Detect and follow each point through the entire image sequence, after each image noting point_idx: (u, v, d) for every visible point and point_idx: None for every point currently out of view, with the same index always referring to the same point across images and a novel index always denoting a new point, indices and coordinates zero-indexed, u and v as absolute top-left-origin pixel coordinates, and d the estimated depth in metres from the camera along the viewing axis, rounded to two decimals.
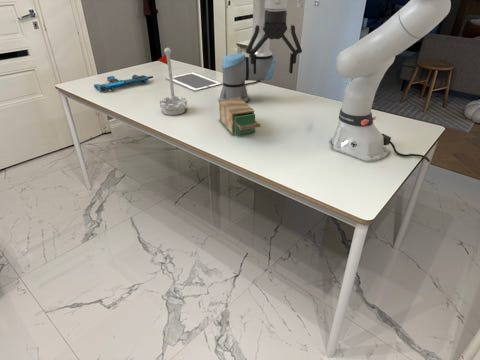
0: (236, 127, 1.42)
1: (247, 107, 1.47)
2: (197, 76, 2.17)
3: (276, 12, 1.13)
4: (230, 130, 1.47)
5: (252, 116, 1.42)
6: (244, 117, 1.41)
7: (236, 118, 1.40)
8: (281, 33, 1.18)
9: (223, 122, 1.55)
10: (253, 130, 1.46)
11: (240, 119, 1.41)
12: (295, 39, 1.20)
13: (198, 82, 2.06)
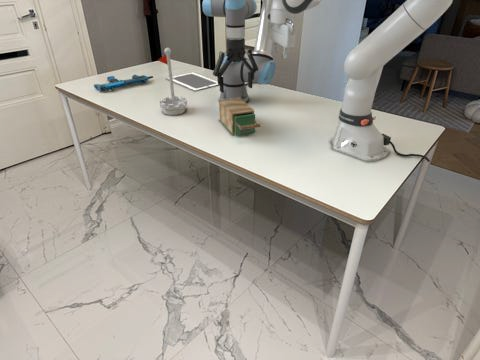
0: (236, 127, 1.42)
1: (247, 107, 1.47)
2: (197, 76, 2.17)
3: None
4: (230, 130, 1.47)
5: (252, 116, 1.42)
6: (244, 117, 1.41)
7: (236, 118, 1.40)
8: None
9: (223, 122, 1.55)
10: (253, 130, 1.46)
11: (240, 119, 1.41)
12: None
13: (198, 82, 2.06)
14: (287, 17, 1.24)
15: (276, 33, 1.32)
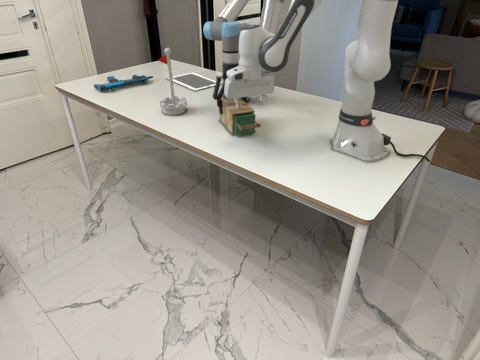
0: (236, 127, 1.42)
1: (247, 107, 1.47)
2: (197, 76, 2.17)
3: None
4: (230, 130, 1.47)
5: (252, 116, 1.42)
6: (244, 117, 1.41)
7: (236, 118, 1.40)
8: None
9: (223, 122, 1.55)
10: (253, 130, 1.46)
11: (240, 119, 1.41)
12: None
13: (198, 82, 2.06)
14: None
15: (249, 88, 1.30)
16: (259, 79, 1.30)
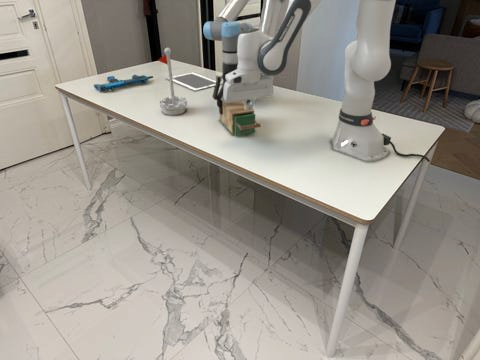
0: (236, 127, 1.42)
1: None
2: (197, 76, 2.17)
3: None
4: (230, 130, 1.47)
5: (252, 116, 1.42)
6: (244, 117, 1.41)
7: (236, 118, 1.40)
8: None
9: (223, 122, 1.55)
10: (253, 130, 1.46)
11: (240, 119, 1.41)
12: None
13: (198, 82, 2.06)
14: None
15: (248, 91, 1.30)
16: (258, 82, 1.30)
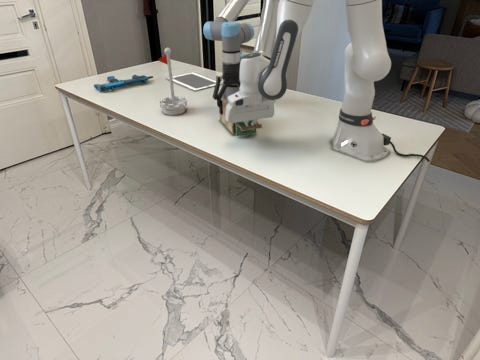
0: (237, 128, 1.41)
1: None
2: (197, 76, 2.17)
3: None
4: (230, 130, 1.47)
5: None
6: None
7: None
8: None
9: (223, 122, 1.55)
10: (254, 131, 1.45)
11: None
12: None
13: (198, 82, 2.06)
14: None
15: (250, 112, 1.34)
16: (259, 104, 1.33)
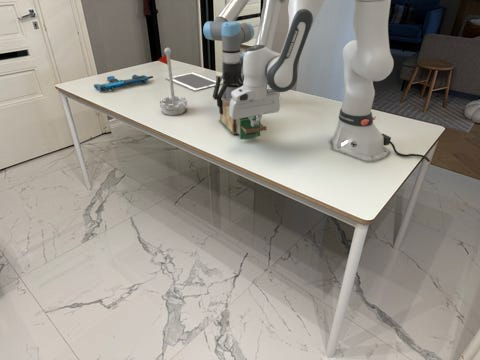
0: (241, 131, 1.38)
1: None
2: (197, 76, 2.17)
3: None
4: (230, 129, 1.47)
5: None
6: (249, 120, 1.37)
7: (241, 121, 1.35)
8: None
9: (223, 122, 1.54)
10: (258, 134, 1.41)
11: (245, 122, 1.36)
12: None
13: (198, 82, 2.06)
14: None
15: (255, 107, 1.29)
16: (264, 98, 1.28)
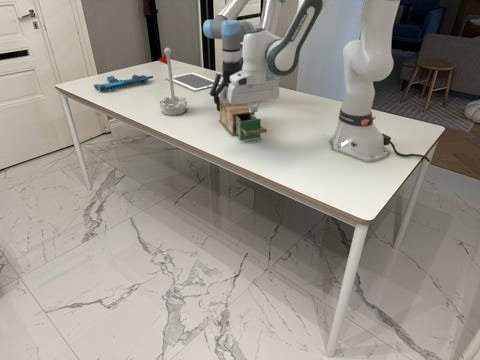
0: (241, 132, 1.38)
1: (247, 108, 1.46)
2: (197, 76, 2.17)
3: None
4: (230, 130, 1.47)
5: (257, 121, 1.38)
6: (249, 122, 1.37)
7: (241, 123, 1.36)
8: None
9: (223, 122, 1.54)
10: (258, 135, 1.42)
11: (245, 124, 1.37)
12: None
13: (198, 82, 2.06)
14: None
15: (253, 93, 1.26)
16: (263, 84, 1.26)
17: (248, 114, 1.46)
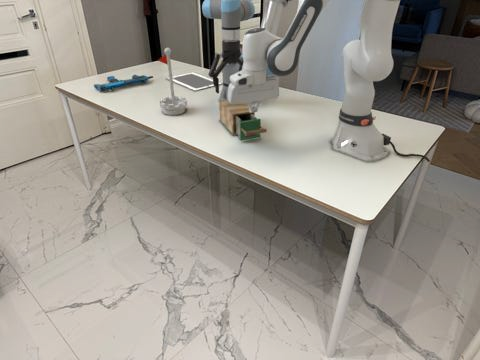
0: (241, 132, 1.38)
1: (247, 108, 1.46)
2: (197, 76, 2.17)
3: None
4: (230, 130, 1.47)
5: (257, 121, 1.38)
6: (249, 122, 1.37)
7: (241, 123, 1.36)
8: None
9: (223, 122, 1.54)
10: (258, 135, 1.42)
11: (245, 124, 1.37)
12: None
13: (198, 82, 2.06)
14: None
15: (253, 93, 1.26)
16: (263, 84, 1.26)
17: (248, 114, 1.46)
